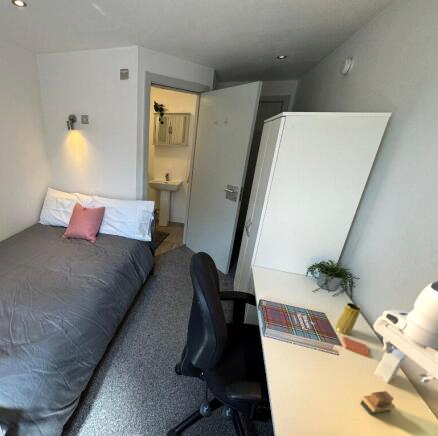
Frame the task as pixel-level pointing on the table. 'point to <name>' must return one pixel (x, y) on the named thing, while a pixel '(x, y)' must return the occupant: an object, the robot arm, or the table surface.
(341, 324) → the vase
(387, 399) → the brush
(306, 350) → the table surface
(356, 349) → the tile
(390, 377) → the cosmetic box
